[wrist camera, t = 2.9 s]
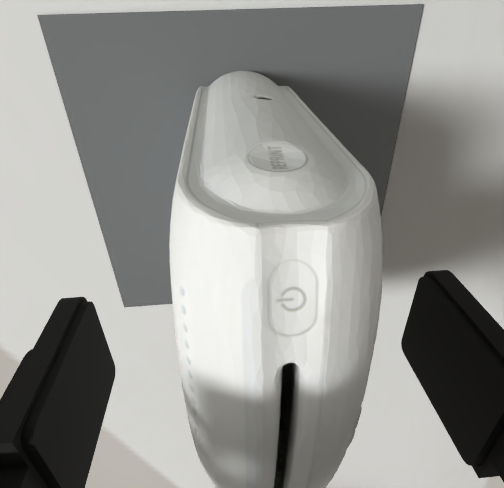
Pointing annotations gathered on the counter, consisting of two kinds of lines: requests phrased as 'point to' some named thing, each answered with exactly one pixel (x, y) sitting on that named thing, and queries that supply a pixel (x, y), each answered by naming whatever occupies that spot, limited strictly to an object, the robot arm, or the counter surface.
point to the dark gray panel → (204, 74)
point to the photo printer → (272, 285)
